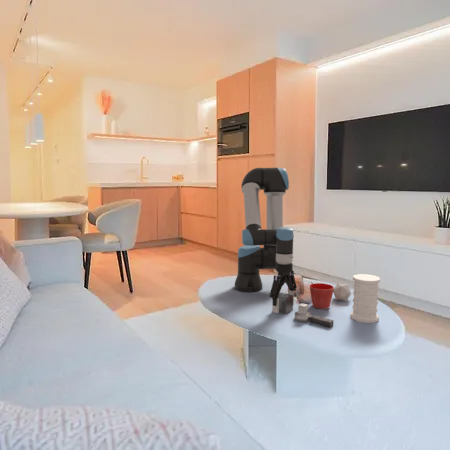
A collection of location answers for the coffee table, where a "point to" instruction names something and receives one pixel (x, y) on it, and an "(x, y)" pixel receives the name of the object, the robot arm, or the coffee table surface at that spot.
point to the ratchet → (311, 317)
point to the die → (342, 292)
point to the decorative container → (365, 298)
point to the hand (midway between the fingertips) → (283, 308)
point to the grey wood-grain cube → (285, 303)
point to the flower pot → (321, 295)
